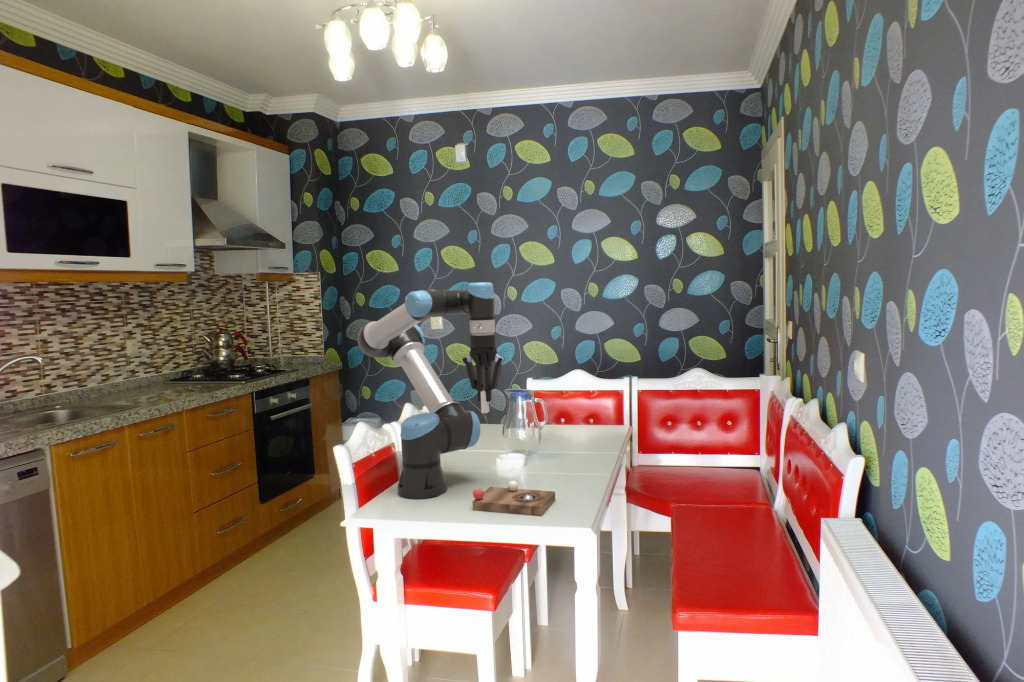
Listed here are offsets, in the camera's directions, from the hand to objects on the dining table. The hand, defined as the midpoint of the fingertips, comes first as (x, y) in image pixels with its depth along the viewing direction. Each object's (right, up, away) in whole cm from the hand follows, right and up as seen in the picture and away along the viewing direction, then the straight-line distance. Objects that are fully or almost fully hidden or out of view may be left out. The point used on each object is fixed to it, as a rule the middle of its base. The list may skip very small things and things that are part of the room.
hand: (485, 412), depth 203 cm
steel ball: (+13, -24, -13) cm, 30 cm away
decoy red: (-1, -22, -14) cm, 26 cm away
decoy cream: (+8, -21, -7) cm, 23 cm away
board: (+9, -25, -11) cm, 29 cm away
